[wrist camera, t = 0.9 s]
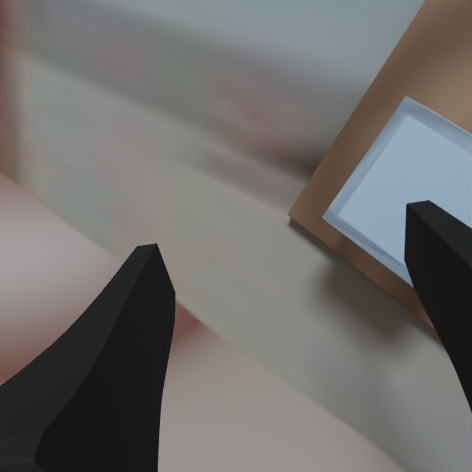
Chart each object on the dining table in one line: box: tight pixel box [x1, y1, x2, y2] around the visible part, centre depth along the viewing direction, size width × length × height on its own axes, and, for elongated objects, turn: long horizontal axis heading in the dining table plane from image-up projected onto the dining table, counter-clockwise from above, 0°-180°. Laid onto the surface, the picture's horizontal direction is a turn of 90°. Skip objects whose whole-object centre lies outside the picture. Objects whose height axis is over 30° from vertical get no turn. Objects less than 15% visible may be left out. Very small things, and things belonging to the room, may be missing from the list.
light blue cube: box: [322, 96, 472, 286], centre depth 20 cm, size 6×6×6 cm
